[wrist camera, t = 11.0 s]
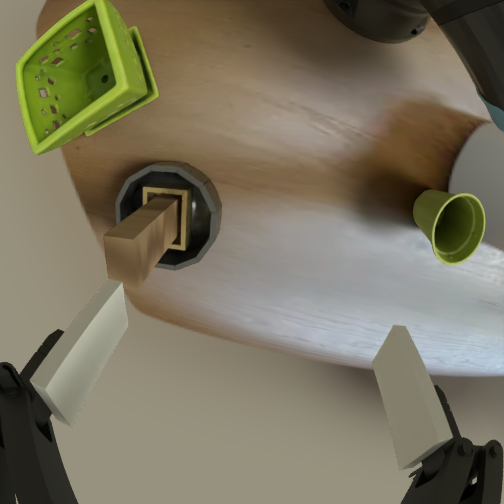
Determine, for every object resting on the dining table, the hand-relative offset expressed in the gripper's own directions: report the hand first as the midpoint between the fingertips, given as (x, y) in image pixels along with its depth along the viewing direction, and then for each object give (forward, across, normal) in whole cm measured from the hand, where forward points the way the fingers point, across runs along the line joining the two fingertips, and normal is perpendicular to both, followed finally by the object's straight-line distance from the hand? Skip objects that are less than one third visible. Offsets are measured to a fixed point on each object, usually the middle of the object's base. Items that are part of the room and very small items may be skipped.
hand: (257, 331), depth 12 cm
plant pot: (+26, +24, +3) cm, 35 cm away
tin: (+25, -12, -4) cm, 28 cm away
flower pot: (+25, -23, +13) cm, 36 cm away
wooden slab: (+24, -12, -4) cm, 27 cm away
